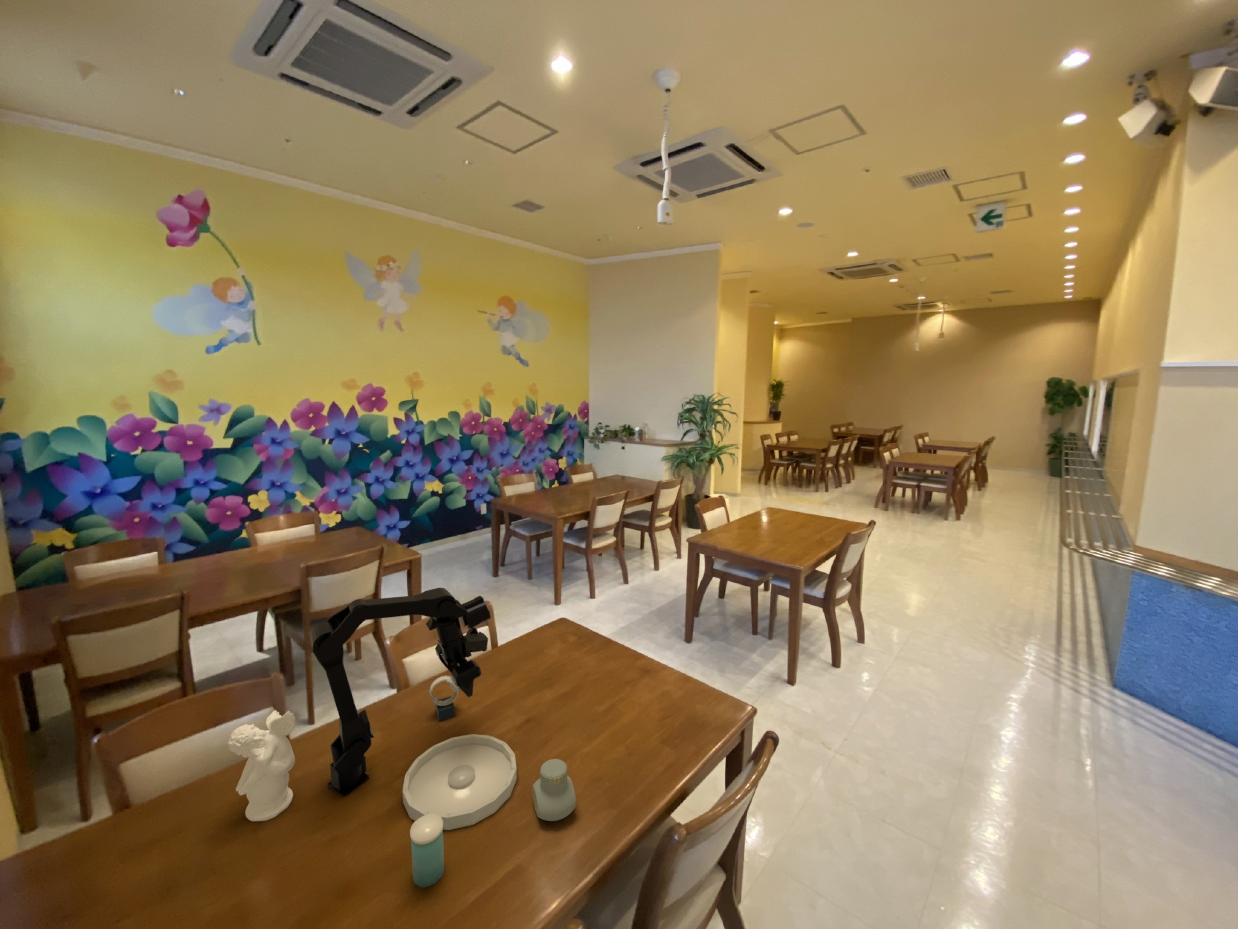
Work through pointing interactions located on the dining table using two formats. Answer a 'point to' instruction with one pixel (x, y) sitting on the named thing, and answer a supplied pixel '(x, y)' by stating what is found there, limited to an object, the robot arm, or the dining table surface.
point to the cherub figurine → (265, 765)
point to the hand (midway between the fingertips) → (464, 687)
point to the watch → (445, 699)
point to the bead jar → (427, 850)
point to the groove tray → (460, 780)
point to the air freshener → (553, 791)
